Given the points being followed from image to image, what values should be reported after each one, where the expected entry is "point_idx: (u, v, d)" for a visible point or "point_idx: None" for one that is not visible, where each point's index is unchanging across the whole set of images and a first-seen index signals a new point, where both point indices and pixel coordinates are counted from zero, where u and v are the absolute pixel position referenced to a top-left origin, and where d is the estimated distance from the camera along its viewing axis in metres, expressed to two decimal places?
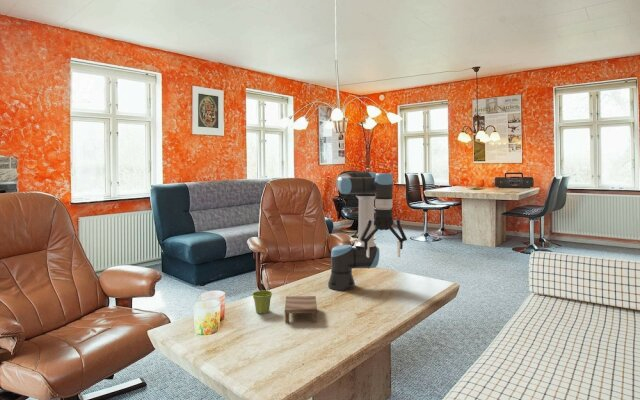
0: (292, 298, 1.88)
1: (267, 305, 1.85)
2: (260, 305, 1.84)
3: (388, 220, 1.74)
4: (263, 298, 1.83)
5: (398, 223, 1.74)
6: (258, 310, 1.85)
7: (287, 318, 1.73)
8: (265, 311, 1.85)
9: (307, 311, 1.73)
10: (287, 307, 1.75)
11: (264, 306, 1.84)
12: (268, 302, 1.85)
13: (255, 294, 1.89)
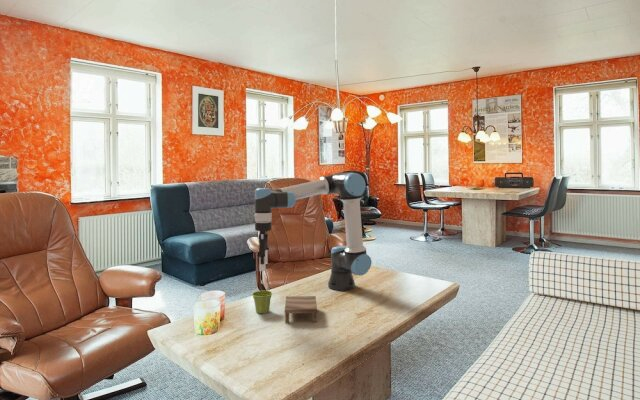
0: (292, 298, 1.88)
1: (267, 305, 1.85)
2: (260, 305, 1.84)
3: None
4: (263, 298, 1.83)
5: (259, 237, 1.78)
6: (258, 310, 1.85)
7: (287, 318, 1.73)
8: (265, 311, 1.85)
9: (307, 311, 1.73)
10: (287, 307, 1.75)
11: (264, 306, 1.84)
12: (268, 302, 1.85)
13: (255, 294, 1.89)
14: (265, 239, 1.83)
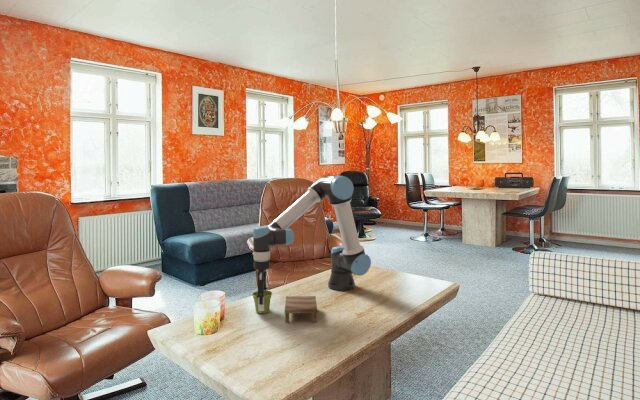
0: (292, 298, 1.88)
1: (267, 305, 1.85)
2: None
3: (259, 271, 1.84)
4: None
5: (258, 278, 1.80)
6: None
7: (287, 318, 1.73)
8: (265, 311, 1.85)
9: (307, 311, 1.73)
10: (287, 307, 1.75)
11: (264, 306, 1.84)
12: (268, 302, 1.85)
13: (255, 294, 1.89)
14: (264, 277, 1.85)
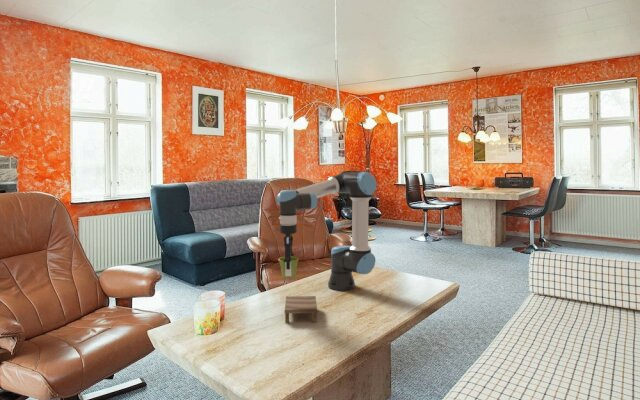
0: (292, 298, 1.88)
1: (294, 270, 1.80)
2: None
3: None
4: None
5: (285, 242, 1.75)
6: (285, 276, 1.80)
7: (287, 318, 1.73)
8: (292, 277, 1.80)
9: (307, 311, 1.73)
10: (287, 307, 1.75)
11: (291, 271, 1.79)
12: (295, 267, 1.81)
13: (281, 260, 1.85)
14: (290, 242, 1.80)
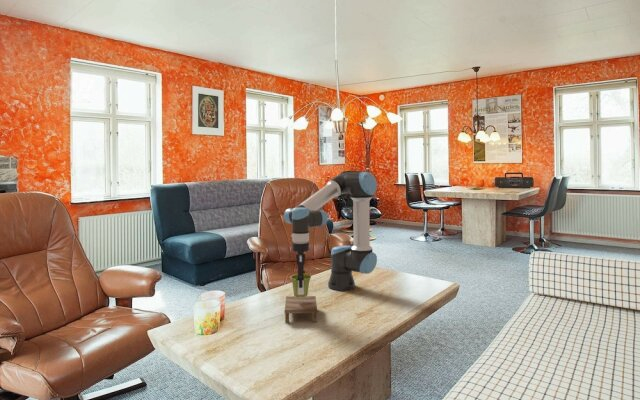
0: (292, 298, 1.88)
1: (306, 289, 1.79)
2: None
3: (298, 253, 1.78)
4: None
5: (297, 260, 1.74)
6: (297, 294, 1.79)
7: (287, 318, 1.73)
8: (304, 295, 1.79)
9: (307, 311, 1.73)
10: (287, 307, 1.75)
11: None
12: (307, 286, 1.80)
13: (293, 278, 1.83)
14: (303, 260, 1.79)
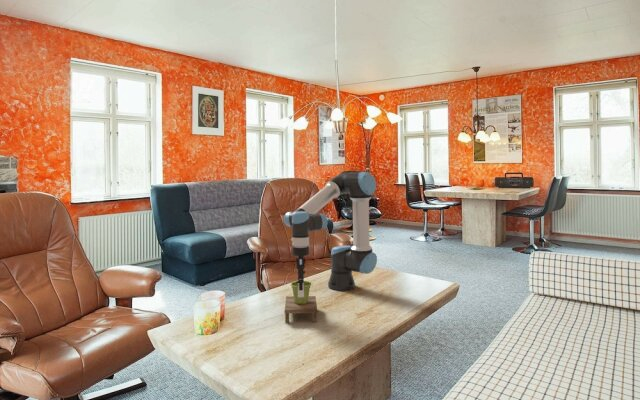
0: (292, 298, 1.88)
1: (306, 296, 1.80)
2: None
3: (298, 258, 1.79)
4: None
5: (297, 263, 1.74)
6: (297, 301, 1.79)
7: (287, 318, 1.73)
8: (304, 302, 1.79)
9: (307, 311, 1.73)
10: (287, 307, 1.75)
11: (304, 296, 1.79)
12: (307, 292, 1.80)
13: (293, 284, 1.84)
14: None
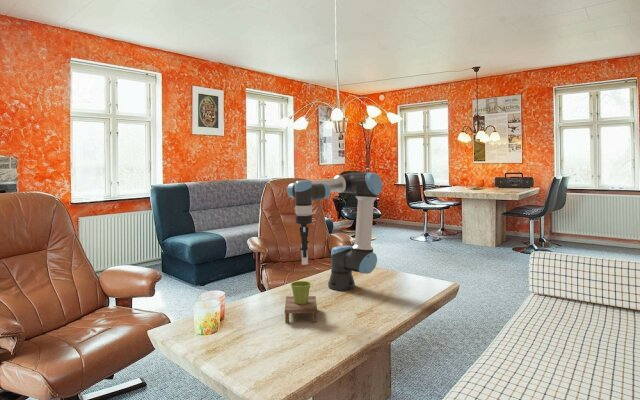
0: (292, 298, 1.88)
1: (306, 296, 1.80)
2: (299, 296, 1.78)
3: None
4: (302, 288, 1.77)
5: (301, 230, 1.75)
6: (297, 301, 1.79)
7: (287, 318, 1.73)
8: (304, 302, 1.79)
9: (307, 311, 1.73)
10: (287, 307, 1.75)
11: (303, 296, 1.79)
12: (307, 293, 1.80)
13: (293, 285, 1.84)
14: (306, 232, 1.80)
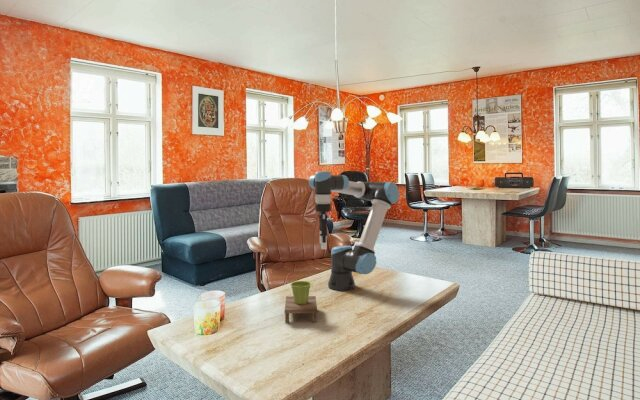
0: (292, 298, 1.88)
1: (306, 296, 1.80)
2: (299, 296, 1.78)
3: (321, 213, 1.93)
4: (302, 288, 1.77)
5: (321, 217, 1.88)
6: (297, 301, 1.79)
7: (287, 318, 1.73)
8: (304, 302, 1.79)
9: (307, 311, 1.73)
10: (287, 307, 1.75)
11: (303, 296, 1.79)
12: (307, 293, 1.80)
13: (293, 285, 1.84)
14: None
